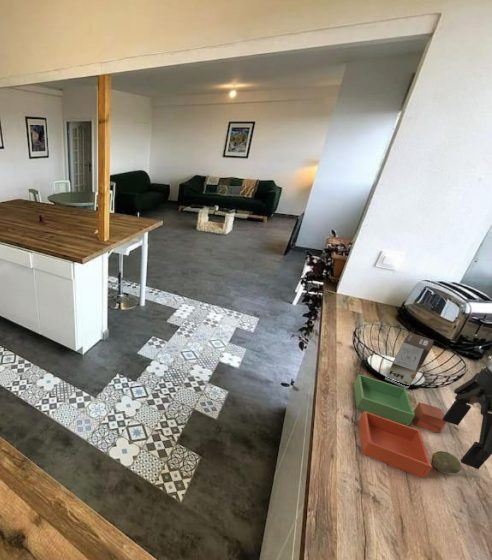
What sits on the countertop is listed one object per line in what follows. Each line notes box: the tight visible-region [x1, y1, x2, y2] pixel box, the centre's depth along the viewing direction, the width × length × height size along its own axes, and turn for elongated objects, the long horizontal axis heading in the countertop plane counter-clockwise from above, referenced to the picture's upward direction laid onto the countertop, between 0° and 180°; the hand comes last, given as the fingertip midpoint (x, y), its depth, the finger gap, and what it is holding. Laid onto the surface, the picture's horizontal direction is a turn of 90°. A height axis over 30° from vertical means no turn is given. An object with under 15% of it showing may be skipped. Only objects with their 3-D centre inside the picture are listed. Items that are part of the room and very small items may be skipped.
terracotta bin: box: [358, 411, 433, 479], centre depth 84 cm, size 12×12×4 cm
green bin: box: [353, 373, 415, 427], centre depth 97 cm, size 12×12×4 cm
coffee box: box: [384, 332, 435, 390], centre depth 105 cm, size 9×6×16 cm
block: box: [413, 401, 447, 434], centre depth 90 cm, size 5×5×5 cm
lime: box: [431, 450, 462, 475], centre depth 78 cm, size 4×5×5 cm
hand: (458, 442), depth 75 cm, fingers open, 13 cm apart
